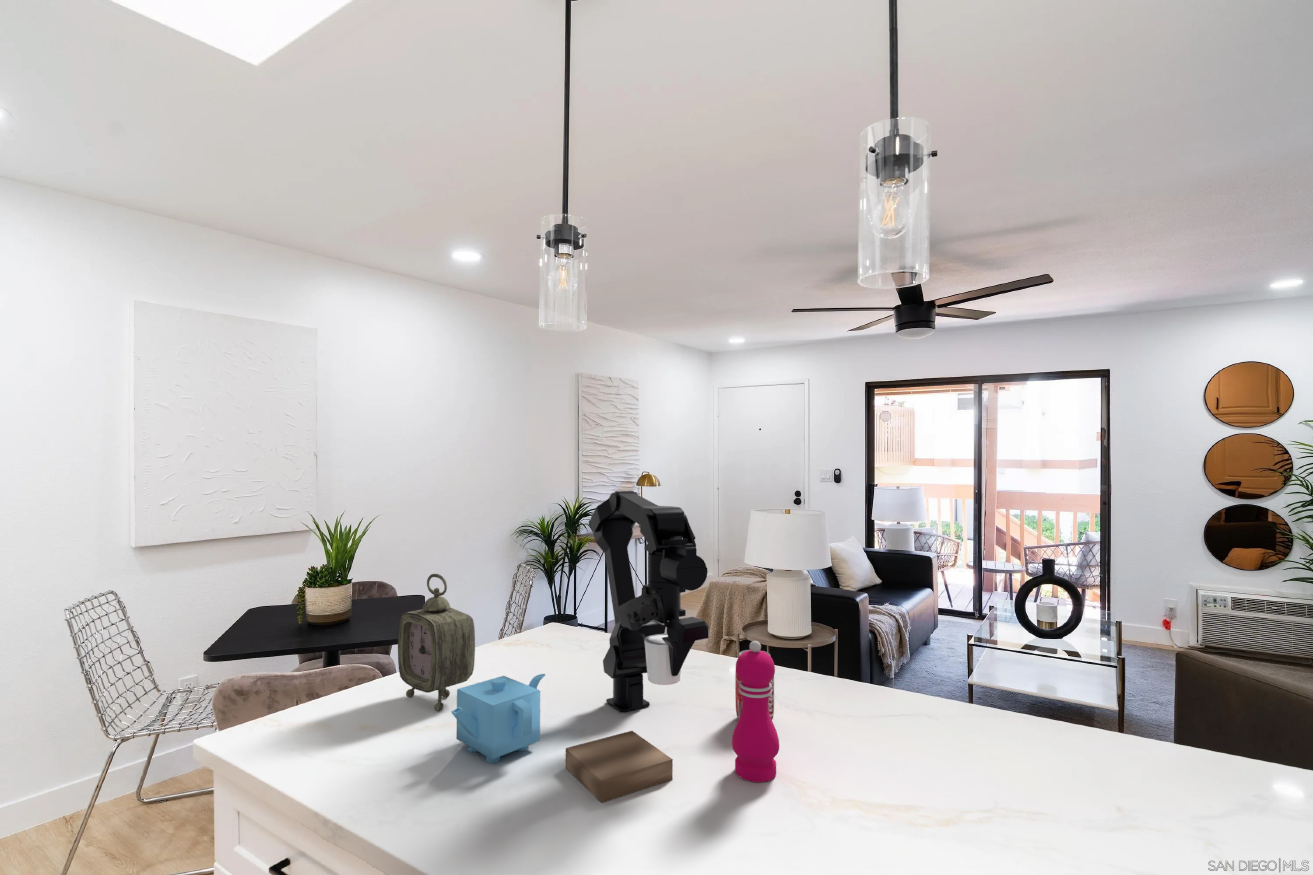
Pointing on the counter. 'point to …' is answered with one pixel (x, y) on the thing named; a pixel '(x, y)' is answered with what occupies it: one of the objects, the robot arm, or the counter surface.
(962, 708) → the counter surface
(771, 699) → the soda can
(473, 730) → the teapot
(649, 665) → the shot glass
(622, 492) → the robot arm
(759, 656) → the pepper mill
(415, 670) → the tabletop clock
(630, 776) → the walnut base block
